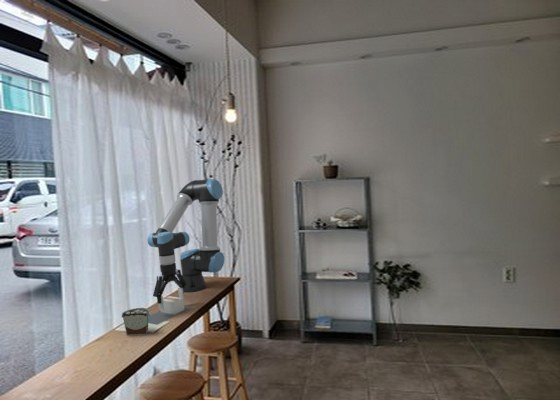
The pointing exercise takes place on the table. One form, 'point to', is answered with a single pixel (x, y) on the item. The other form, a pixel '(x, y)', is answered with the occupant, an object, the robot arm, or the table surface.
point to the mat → (163, 316)
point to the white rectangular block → (173, 305)
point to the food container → (136, 321)
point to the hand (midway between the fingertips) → (171, 304)
